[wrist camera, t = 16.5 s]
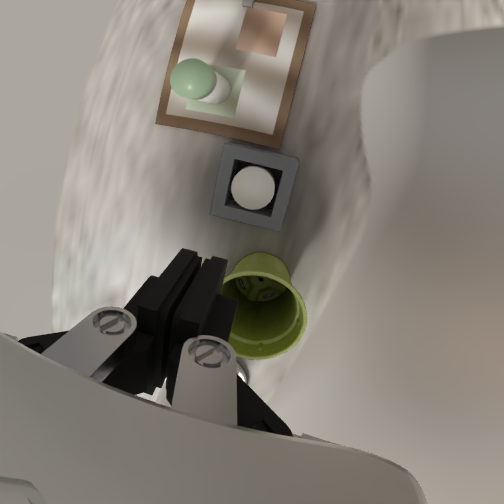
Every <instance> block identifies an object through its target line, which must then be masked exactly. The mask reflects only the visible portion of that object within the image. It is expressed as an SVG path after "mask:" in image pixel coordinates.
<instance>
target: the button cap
mask: <svg viewBox="0 0 504 504" xmlns="http://www.w3.org/2000/svg"><path fill="white" fill-rule="evenodd" d="M231 191H232V195H233V197H234V199H235V201H236V202H237V203H238V204H239V205H240V206H242V207H244V208H247V209H252V210H255V209H260V208H263V207H264V206H266V205H267V204H268V203H269V202H270V201H271V200H272V198H273V195H274V191H275V179H274V176H273V174H272V173H271V171H270V170H269V169H267V168H266V167H264V166H262V165H257V164H253V165H248V166H246V167H244V168H243V169H242V170H240V171H239V172H238V173H237V174H236V176H235V177H234V179H233V181H232V185H231Z"/></svg>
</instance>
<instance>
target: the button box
mask: <svg viewBox="0 0 504 504" xmlns="http://www.w3.org/2000/svg"><path fill="white" fill-rule="evenodd" d="M238 160H242V161H246V162H250V163H254V164H258V165H262V166H266V167H270V168H274V169H278V170H282V175H281V179H280V183H279V186H278V190H277V194H276V198H275V202H274V206H273V209H272V210H270V209H267V208H260V209H255V210H252V209H247V208H244V207H242V206H240V205H239V204H238V203H237V202H236V201H235V200H231V199H229V197H230V192H231V185H232V181H233V179H234V174H235V170H236V166H237V161H238ZM298 165H299V159H297V158H293V157H290V156H286V155H282V154H278V153H274V152H270V151H266V150H262V149H258V148H253V147H249V146H245V145H240V144H236V143H231V142H228V143H224V148H223V152H222V157H221V161H220V166H219V171H218V175H217V180H216V185H215V190H214V195H213V200H212V205H211V210H210V215H214V216H218V217H222V218H226V219H230V220H234V221H238V222H242V223H246V224H250V225H254V226H258V227H262V228H266V229H269V230H273V231H277V232H280V231H281V227H282V224H283V220H284V217H285V213H286V209H287V206H288V202H289V198H290V195H291V191H292V187H293V184H294V180H295V176H296V173H297V169H298Z"/></svg>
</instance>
